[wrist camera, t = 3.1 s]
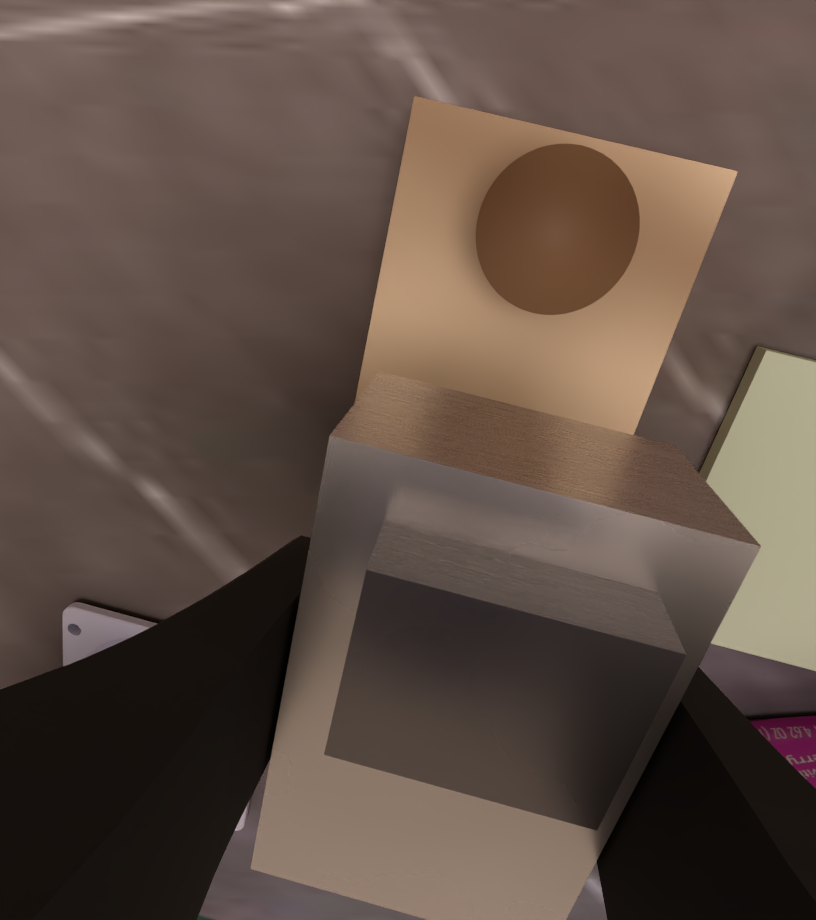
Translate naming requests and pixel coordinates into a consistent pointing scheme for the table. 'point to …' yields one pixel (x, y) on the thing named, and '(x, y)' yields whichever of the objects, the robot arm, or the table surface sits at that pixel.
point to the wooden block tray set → (537, 264)
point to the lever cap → (485, 651)
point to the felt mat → (772, 506)
